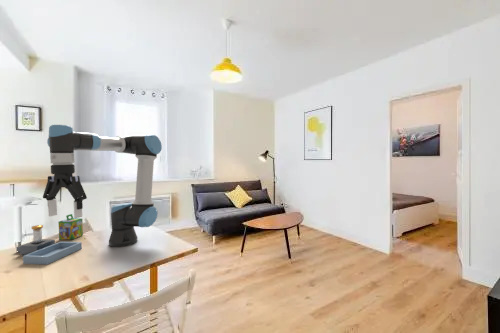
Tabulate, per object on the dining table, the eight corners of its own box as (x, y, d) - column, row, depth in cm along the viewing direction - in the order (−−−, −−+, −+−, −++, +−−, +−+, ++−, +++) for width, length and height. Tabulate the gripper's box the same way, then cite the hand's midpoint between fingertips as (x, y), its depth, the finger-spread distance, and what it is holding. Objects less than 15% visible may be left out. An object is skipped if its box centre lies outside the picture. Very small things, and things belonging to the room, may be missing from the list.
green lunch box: (72, 240, 147) (71, 216, 147) (58, 240, 148) (57, 216, 147) (83, 235, 156) (82, 213, 156) (70, 235, 157) (69, 213, 157)
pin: (38, 249, 132) (37, 224, 131) (46, 250, 131) (45, 225, 131) (30, 253, 127) (29, 227, 127) (37, 253, 127) (36, 227, 126)
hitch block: (29, 247, 135) (29, 238, 135) (55, 248, 134) (54, 239, 133) (10, 254, 125) (9, 245, 125) (37, 255, 124) (36, 246, 123)
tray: (60, 247, 134) (60, 241, 134) (81, 248, 133) (81, 242, 133) (23, 263, 114) (22, 256, 114) (47, 264, 113) (47, 257, 113)
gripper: (29, 164, 95) (32, 217, 96) (77, 164, 88) (80, 220, 89) (49, 163, 102) (52, 212, 103) (95, 163, 95) (98, 215, 96)
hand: (65, 216), depth 96 cm, fingers open, 13 cm apart
